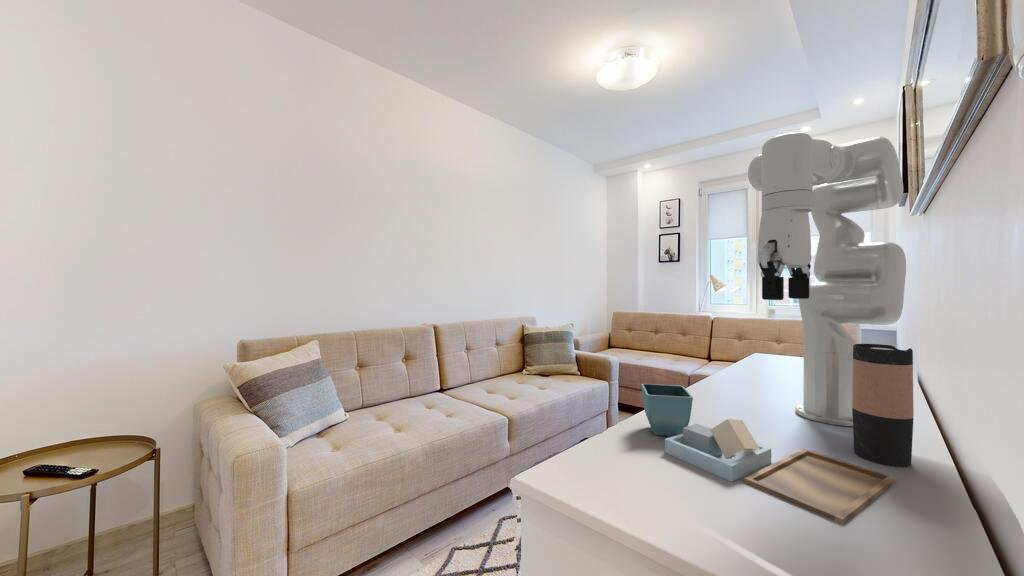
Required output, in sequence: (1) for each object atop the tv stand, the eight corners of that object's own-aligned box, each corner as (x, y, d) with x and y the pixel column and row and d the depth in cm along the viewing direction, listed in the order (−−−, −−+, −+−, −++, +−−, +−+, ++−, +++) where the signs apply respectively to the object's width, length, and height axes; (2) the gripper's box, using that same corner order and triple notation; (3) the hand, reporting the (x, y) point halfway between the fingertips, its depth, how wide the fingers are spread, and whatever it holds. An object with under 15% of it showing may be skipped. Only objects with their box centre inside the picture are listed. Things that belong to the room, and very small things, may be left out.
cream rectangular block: (740, 458, 64) (724, 430, 68) (760, 449, 62) (742, 420, 66) (725, 458, 63) (709, 429, 66) (745, 448, 60) (727, 419, 64)
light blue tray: (704, 441, 75) (704, 426, 75) (771, 466, 64) (771, 448, 64) (664, 455, 68) (664, 439, 68) (731, 485, 58) (731, 466, 58)
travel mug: (851, 461, 66) (851, 347, 66) (852, 447, 71) (852, 342, 71) (915, 476, 61) (916, 352, 60) (911, 460, 66) (911, 346, 66)
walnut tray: (803, 455, 68) (803, 448, 68) (895, 485, 58) (895, 477, 58) (743, 485, 58) (744, 478, 58) (842, 528, 48) (842, 519, 48)
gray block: (696, 423, 72) (722, 432, 67) (696, 444, 72) (722, 454, 67) (683, 427, 69) (709, 437, 65) (683, 449, 70) (709, 460, 65)
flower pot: (693, 442, 74) (693, 396, 74) (646, 439, 76) (646, 394, 76) (683, 426, 83) (682, 385, 83) (640, 423, 84) (640, 383, 84)
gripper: (785, 213, 76) (785, 297, 76) (738, 204, 67) (738, 299, 68) (831, 206, 70) (831, 298, 70) (786, 195, 61) (786, 301, 61)
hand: (786, 299), depth 69 cm, fingers open, 9 cm apart
